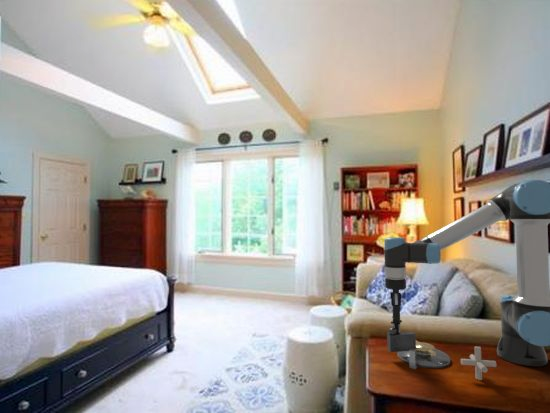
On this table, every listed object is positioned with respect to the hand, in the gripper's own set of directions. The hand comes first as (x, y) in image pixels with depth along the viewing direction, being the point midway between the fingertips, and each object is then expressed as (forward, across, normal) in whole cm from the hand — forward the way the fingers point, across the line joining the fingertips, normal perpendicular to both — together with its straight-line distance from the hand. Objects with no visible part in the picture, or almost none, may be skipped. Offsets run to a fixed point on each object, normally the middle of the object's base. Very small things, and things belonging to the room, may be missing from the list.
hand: (396, 340), depth 127 cm
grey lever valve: (+3, 0, +5) cm, 6 cm away
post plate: (+6, -1, +8) cm, 10 cm away
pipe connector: (+6, +11, +24) cm, 28 cm away
